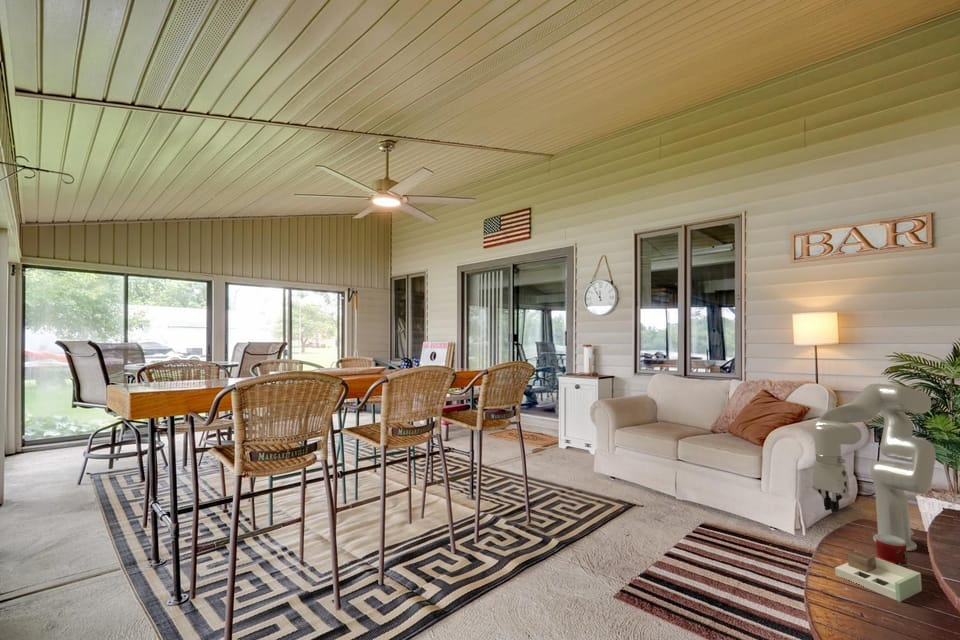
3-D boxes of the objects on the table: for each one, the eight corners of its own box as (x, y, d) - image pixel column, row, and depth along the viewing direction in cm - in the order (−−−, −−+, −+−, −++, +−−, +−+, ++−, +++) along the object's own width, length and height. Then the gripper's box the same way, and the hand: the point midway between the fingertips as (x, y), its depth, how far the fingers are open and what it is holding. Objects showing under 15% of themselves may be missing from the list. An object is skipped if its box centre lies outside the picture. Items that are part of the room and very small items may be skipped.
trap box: (857, 565, 164) (856, 550, 165) (921, 590, 148) (920, 573, 148) (835, 575, 159) (834, 559, 159) (900, 601, 143) (898, 583, 143)
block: (857, 561, 163) (856, 550, 163) (876, 568, 158) (875, 556, 158) (848, 565, 160) (847, 553, 160) (866, 572, 155) (866, 560, 155)
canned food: (902, 579, 155) (899, 546, 155) (873, 568, 162) (871, 537, 162) (912, 572, 159) (910, 540, 159) (883, 563, 166) (881, 532, 166)
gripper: (859, 462, 162) (862, 515, 162) (811, 453, 176) (815, 501, 176) (846, 466, 159) (850, 520, 159) (799, 456, 173) (802, 505, 173)
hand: (831, 510), depth 167 cm, fingers closed
